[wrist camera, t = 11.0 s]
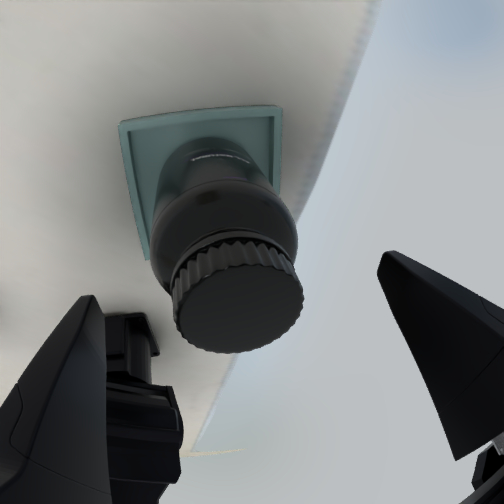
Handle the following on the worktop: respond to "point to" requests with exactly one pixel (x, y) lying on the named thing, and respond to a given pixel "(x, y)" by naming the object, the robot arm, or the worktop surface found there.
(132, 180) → the tray
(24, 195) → the worktop surface
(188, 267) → the supplement bottle
